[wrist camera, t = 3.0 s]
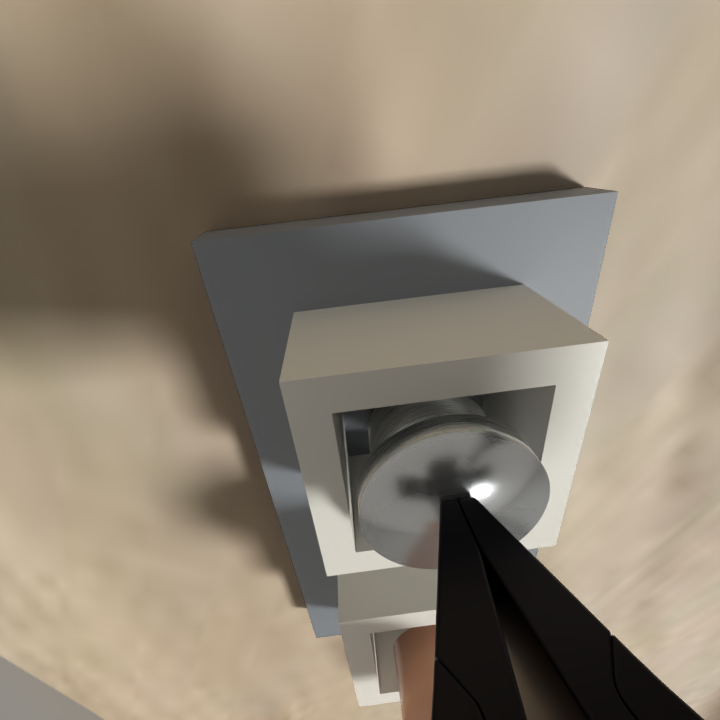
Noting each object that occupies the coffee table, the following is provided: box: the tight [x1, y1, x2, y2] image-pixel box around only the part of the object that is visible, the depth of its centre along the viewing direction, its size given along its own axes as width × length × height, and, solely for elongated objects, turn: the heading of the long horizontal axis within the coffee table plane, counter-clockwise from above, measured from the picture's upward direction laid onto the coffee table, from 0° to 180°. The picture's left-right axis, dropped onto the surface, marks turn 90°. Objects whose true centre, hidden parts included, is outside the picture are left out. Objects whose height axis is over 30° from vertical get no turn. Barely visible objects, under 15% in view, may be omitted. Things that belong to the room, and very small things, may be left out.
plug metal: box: [357, 395, 550, 569], centre depth 11 cm, size 5×5×5 cm
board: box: [191, 187, 618, 707], centre depth 15 cm, size 12×22×6 cm, turn 6°
